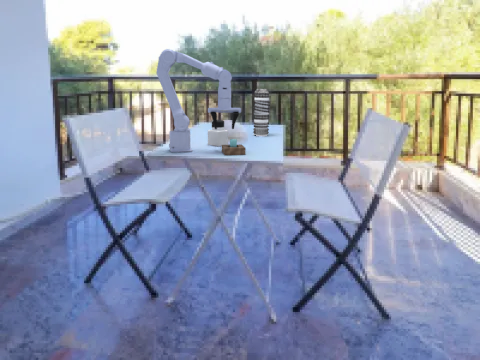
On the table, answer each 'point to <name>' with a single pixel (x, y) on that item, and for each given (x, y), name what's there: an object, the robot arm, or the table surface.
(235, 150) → the socket block
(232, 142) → the peg
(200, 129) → the table surface
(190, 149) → the robot arm
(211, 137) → the medicine bottle
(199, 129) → the table surface
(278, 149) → the table surface
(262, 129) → the decorative candle
